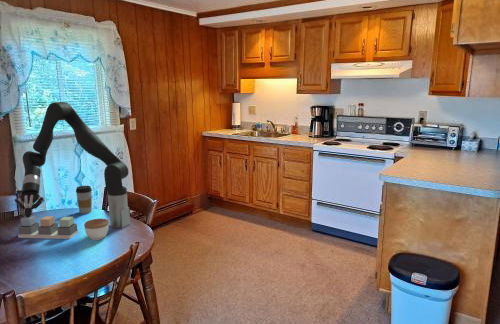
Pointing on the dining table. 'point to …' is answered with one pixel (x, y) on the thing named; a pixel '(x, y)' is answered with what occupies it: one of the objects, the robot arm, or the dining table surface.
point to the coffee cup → (84, 199)
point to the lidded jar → (96, 228)
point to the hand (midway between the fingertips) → (27, 216)
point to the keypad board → (47, 231)
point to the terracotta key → (47, 221)
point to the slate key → (28, 221)
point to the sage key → (66, 221)
